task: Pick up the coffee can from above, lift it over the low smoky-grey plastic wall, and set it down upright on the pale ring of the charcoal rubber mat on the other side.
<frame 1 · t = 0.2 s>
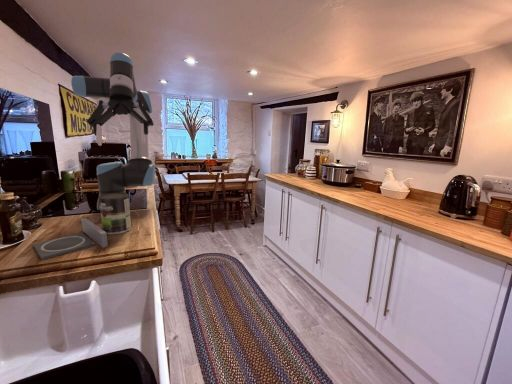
hand: (121, 142, 83), 34 cm above the countertop, tool tilted 35°, fingers open, 13 cm apart
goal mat: (64, 245, 85), on the countertop
coffee can: (117, 230, 100), on the countertop
low wall: (94, 238, 91), on the countertop
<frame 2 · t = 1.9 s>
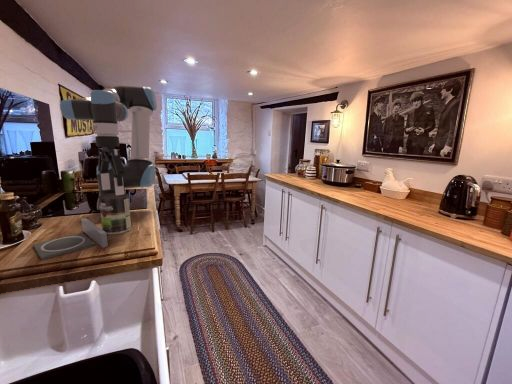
hand: (113, 192, 96), 15 cm above the countertop, tool pointing down, fingers open, 13 cm apart
nothing on the countertop moved.
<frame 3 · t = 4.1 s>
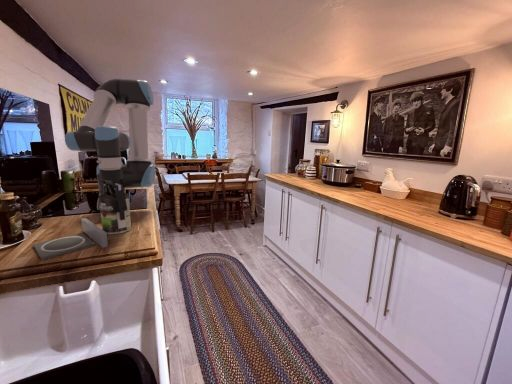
hand: (116, 224, 99), 2 cm above the countertop, tool pointing down, fingers closed on coffee can, 10 cm apart
coffee can: (117, 230, 100), on the countertop, touching gripper
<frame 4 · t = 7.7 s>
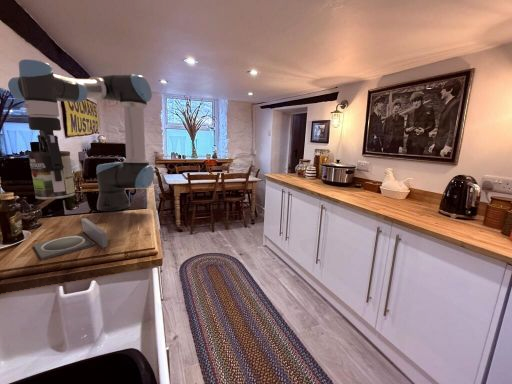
hand: (55, 188, 80), 20 cm above the countertop, tool pointing down, fingers closed on coffee can, 10 cm apart
coffee can: (56, 196, 81), point 17 cm above the countertop, touching gripper
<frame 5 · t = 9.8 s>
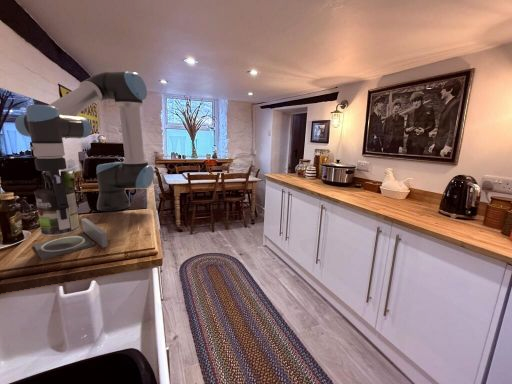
hand: (60, 224, 83), 8 cm above the countertop, tool pointing down, fingers closed on coffee can, 10 cm apart
coffee can: (61, 231, 83), point 5 cm above the countertop, touching gripper
when the fingers open (4 cm above the countertop, at t = 11.5 s): coffee can drops 1 cm, resting on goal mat.
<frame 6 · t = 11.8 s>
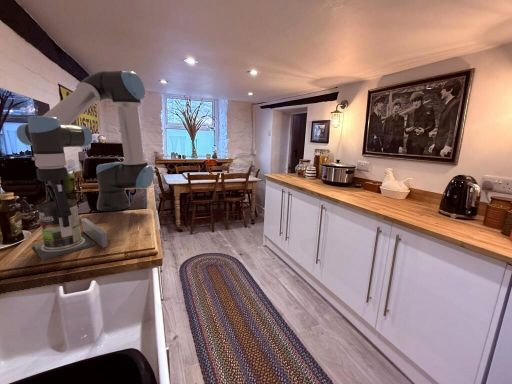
hand: (61, 230, 83), 5 cm above the countertop, tool pointing down, fingers open, 13 cm apart
coffee can: (64, 243, 84), point 1 cm above the countertop, touching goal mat
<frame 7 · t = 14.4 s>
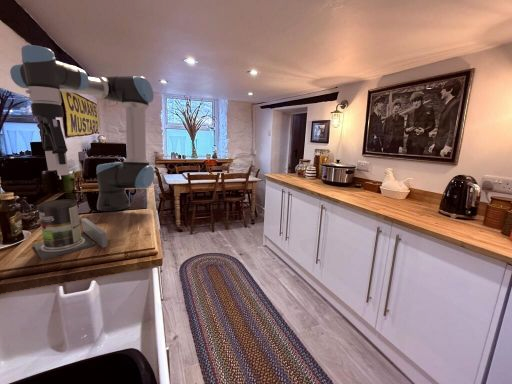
hand: (58, 172, 81), 25 cm above the countertop, tool pointing down, fingers open, 13 cm apart
nothing on the countertop moved.
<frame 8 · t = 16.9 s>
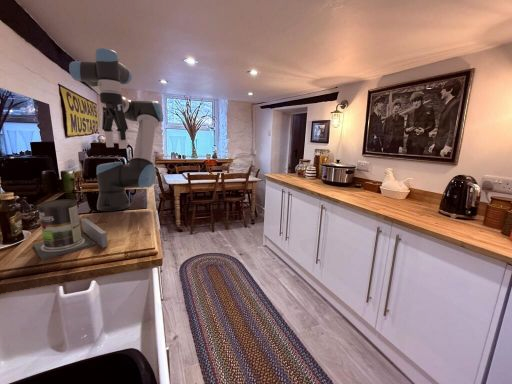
hand: (116, 147, 103), 32 cm above the countertop, tool pointing down, fingers open, 13 cm apart
nothing on the countertop moved.
at the end: coffee can 0.1 cm off-centre on the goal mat, point 0.7 cm above the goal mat's base; coffee can tilted 0°; the gripper is holding nothing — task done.
